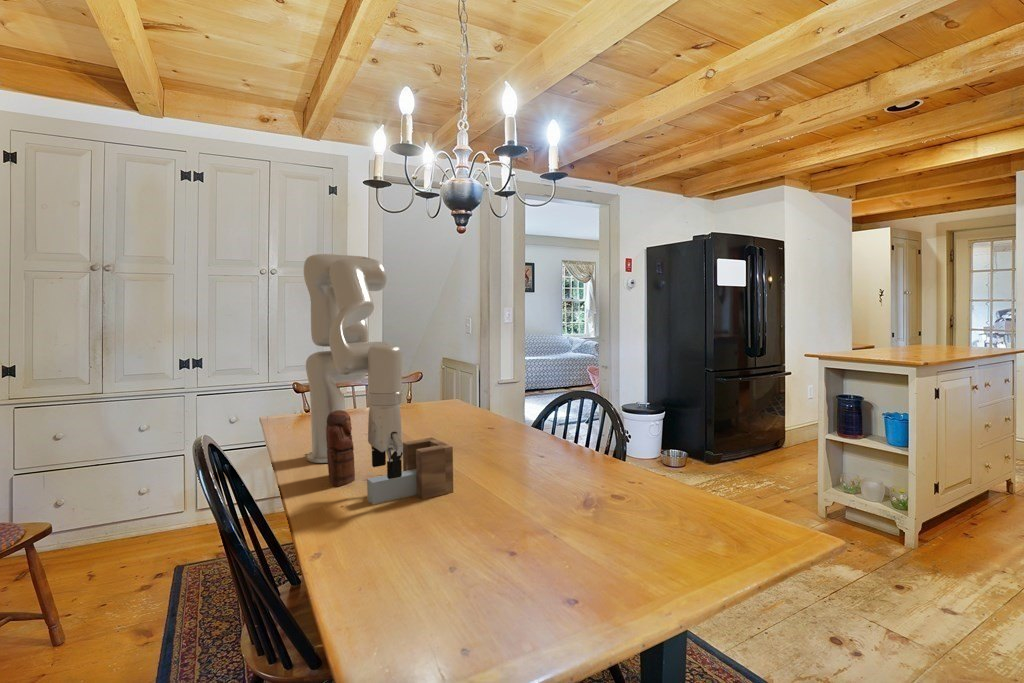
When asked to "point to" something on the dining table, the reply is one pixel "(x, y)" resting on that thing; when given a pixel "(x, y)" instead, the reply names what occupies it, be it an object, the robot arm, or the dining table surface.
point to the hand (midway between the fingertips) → (386, 471)
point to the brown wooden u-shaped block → (430, 466)
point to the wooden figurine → (340, 448)
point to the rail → (392, 487)
